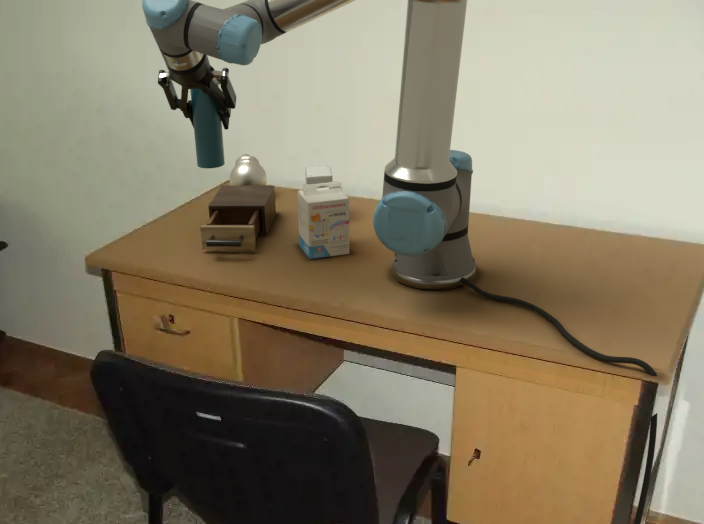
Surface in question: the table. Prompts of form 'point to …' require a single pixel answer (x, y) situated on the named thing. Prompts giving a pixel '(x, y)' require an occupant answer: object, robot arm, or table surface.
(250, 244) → the drawer
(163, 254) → the table surface
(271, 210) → the cabinet
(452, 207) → the robot arm
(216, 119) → the dark teal cylinder
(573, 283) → the table surface
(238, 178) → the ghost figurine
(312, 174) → the small box
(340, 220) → the ink box
